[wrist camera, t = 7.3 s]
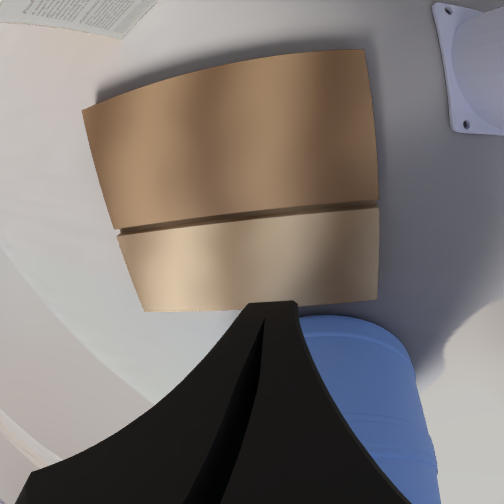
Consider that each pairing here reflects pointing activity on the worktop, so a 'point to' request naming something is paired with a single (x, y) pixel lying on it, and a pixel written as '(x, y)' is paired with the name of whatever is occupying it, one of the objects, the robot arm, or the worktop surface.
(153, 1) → the small box
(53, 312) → the worktop surface
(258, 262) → the oak floor strip
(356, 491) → the robot arm
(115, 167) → the walnut plank
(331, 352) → the water jug
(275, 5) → the worktop surface
